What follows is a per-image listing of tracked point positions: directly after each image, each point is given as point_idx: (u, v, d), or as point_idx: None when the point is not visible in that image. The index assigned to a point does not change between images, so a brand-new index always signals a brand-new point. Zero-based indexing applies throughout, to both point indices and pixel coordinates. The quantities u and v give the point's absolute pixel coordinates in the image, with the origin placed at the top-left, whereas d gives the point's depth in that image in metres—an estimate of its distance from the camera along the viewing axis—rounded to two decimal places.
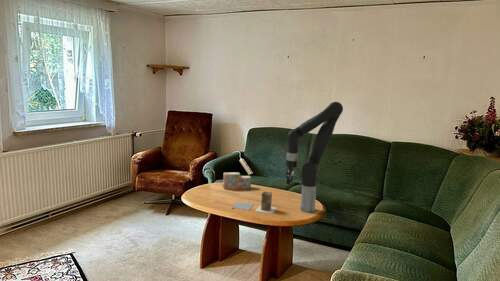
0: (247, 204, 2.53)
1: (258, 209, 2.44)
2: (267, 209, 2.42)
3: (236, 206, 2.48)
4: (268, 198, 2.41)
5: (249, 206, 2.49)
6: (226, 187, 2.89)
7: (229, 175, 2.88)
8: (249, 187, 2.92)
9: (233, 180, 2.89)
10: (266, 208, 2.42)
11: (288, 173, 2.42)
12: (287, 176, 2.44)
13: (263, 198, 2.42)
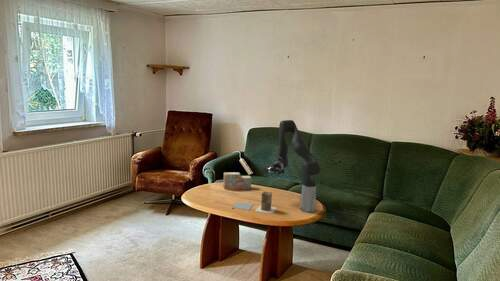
0: (247, 204, 2.53)
1: (258, 209, 2.44)
2: (267, 209, 2.42)
3: (236, 206, 2.48)
4: (268, 198, 2.41)
5: (249, 206, 2.49)
6: (226, 187, 2.89)
7: (229, 175, 2.88)
8: (249, 187, 2.93)
9: (233, 180, 2.89)
10: (266, 208, 2.42)
11: None
12: (267, 171, 2.63)
13: (263, 198, 2.42)
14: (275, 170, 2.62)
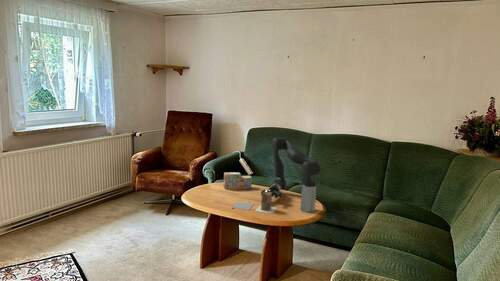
0: (247, 204, 2.53)
1: (258, 209, 2.44)
2: (267, 209, 2.42)
3: (236, 206, 2.48)
4: (268, 198, 2.41)
5: (249, 206, 2.49)
6: (227, 187, 2.89)
7: (230, 175, 2.88)
8: (250, 187, 2.93)
9: (234, 180, 2.89)
10: (266, 208, 2.42)
11: None
12: None
13: (263, 198, 2.42)
14: (272, 193, 2.58)
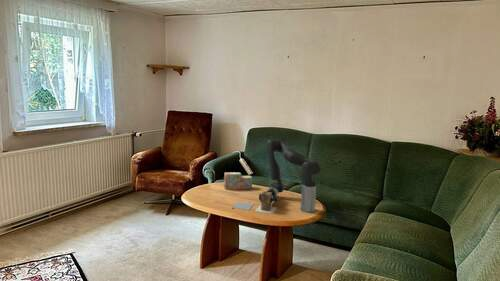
0: (247, 204, 2.53)
1: (258, 209, 2.44)
2: (267, 209, 2.42)
3: (236, 206, 2.48)
4: (268, 198, 2.41)
5: (249, 206, 2.49)
6: (227, 187, 2.89)
7: (230, 175, 2.88)
8: (250, 187, 2.93)
9: (234, 180, 2.89)
10: (266, 208, 2.42)
11: (259, 196, 2.51)
12: None
13: (263, 198, 2.42)
14: None
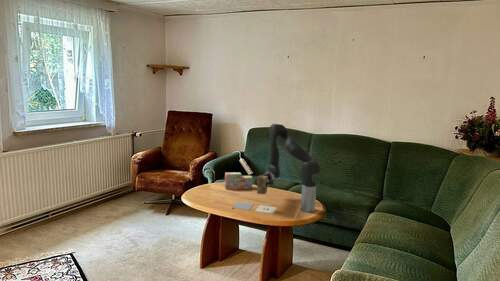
0: (247, 204, 2.53)
1: (258, 209, 2.44)
2: (263, 192, 2.42)
3: (236, 206, 2.48)
4: (263, 181, 2.41)
5: (249, 206, 2.49)
6: (228, 187, 2.89)
7: (231, 175, 2.88)
8: (250, 187, 2.93)
9: (235, 180, 2.89)
10: (262, 192, 2.42)
11: (255, 180, 2.51)
12: None
13: (258, 181, 2.42)
14: None
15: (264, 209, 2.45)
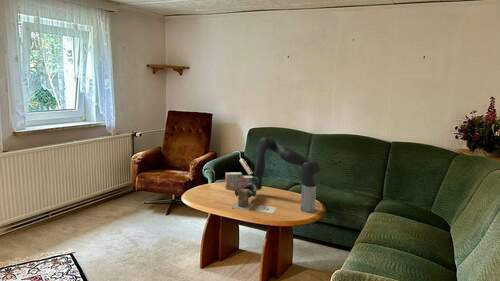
0: None
1: (258, 209, 2.44)
2: (244, 206, 2.47)
3: (236, 206, 2.48)
4: (244, 195, 2.45)
5: (249, 206, 2.49)
6: (228, 187, 2.89)
7: (231, 175, 2.88)
8: None
9: (235, 180, 2.89)
10: (243, 205, 2.47)
11: None
12: None
13: (239, 195, 2.46)
14: None
15: (264, 209, 2.45)
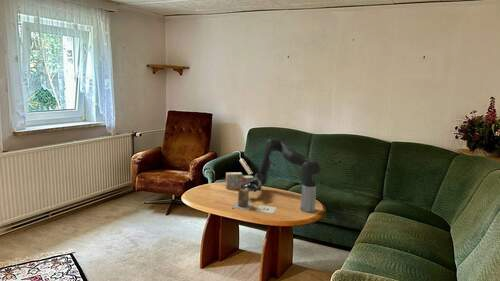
0: None
1: (258, 209, 2.44)
2: (244, 206, 2.47)
3: (236, 206, 2.48)
4: (244, 195, 2.45)
5: (249, 206, 2.49)
6: (229, 187, 2.89)
7: (232, 175, 2.88)
8: None
9: (236, 180, 2.90)
10: (243, 205, 2.47)
11: None
12: None
13: (239, 195, 2.46)
14: (252, 187, 2.65)
15: (264, 209, 2.45)
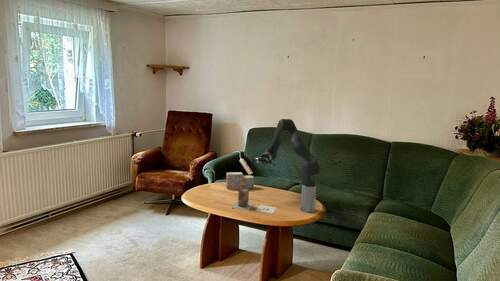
0: None
1: (258, 209, 2.44)
2: (244, 206, 2.47)
3: (236, 206, 2.48)
4: (244, 195, 2.45)
5: (249, 206, 2.49)
6: (229, 187, 2.89)
7: (232, 175, 2.88)
8: (252, 187, 2.94)
9: (236, 180, 2.90)
10: (243, 205, 2.47)
11: None
12: None
13: (239, 195, 2.46)
14: (263, 160, 2.66)
15: (264, 209, 2.45)
